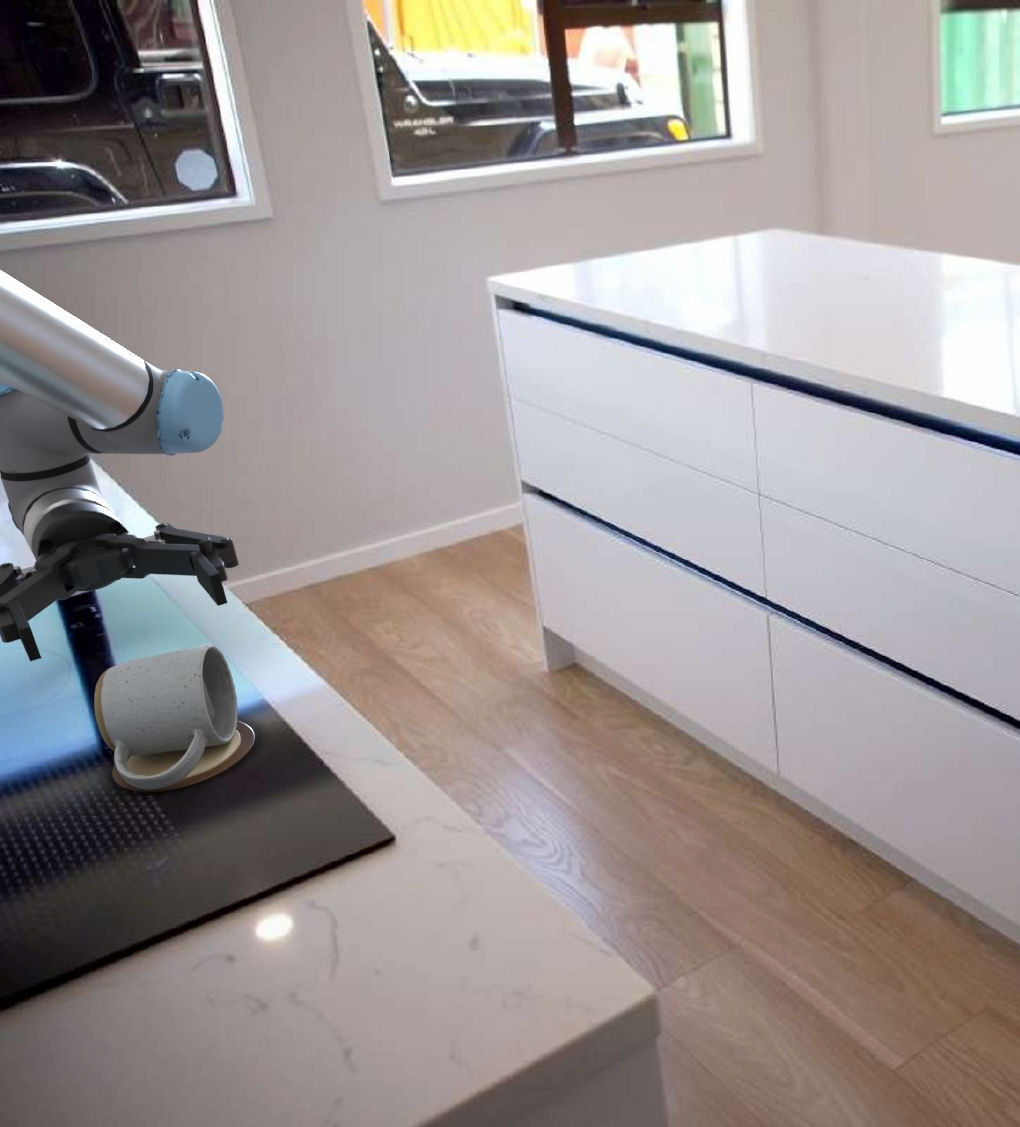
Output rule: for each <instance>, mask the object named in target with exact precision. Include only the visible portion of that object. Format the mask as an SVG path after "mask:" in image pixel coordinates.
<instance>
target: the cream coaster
mask: <svg viewBox="0 0 1020 1127" xmlns="http://www.w3.org/2000/svg"><path fill="white" fill-rule="evenodd" d="M255 740H256V735H255V732H254V730H253V729H252V727H251V726H249V725H248V724H247V723H244V722H242V721H240V720H239V721H238V720H237V727H236V731H235V733H234V736H233V738H232V739H231V741H229V742H228V743H226V744H222V745H217V746H210V747H205V749H204V752H203V754H202V756H201V758H200V760H199V762H198V764H197V766H196V767H195V768H194V769H193V770H192V771H191V773H190V774H189V775H187V776H186V777H185V778H183V779H182V780H181V781H179V782H177V783H175V784H173V785H171V786H168V787H165V788H160V789H153V790H146V789H139V788H136V787H133V786H131V785H130V784H128V783H127V782H126V781H125V780H124V779H123V777H122V776H121V775H120V773H119V772H118V770H117V767H116V764H115V763H114V765H113V768H112V773H111V774H112V778H113V781H114V782H115V784H117V785H118V786H119V787H121V788H123V789H125V790H128V791H133V792H141V793H158V792H166V791H173V790H177V789H182V788H185V787H189V786H192V785H195V784H196V785H197V784H199V783H201V782H204V781H207V780H209V779H211V778H214V777H216V776H218V775H220V774H222V773H224V772H226V771H227V770H229V769H231V768H232V767H234V766H235V765H236V764H238V763H240V762H241V761H242V760H243V759H244V758H245V757H246V756H247V755H248V754H249V753H250V751H251V750H252V749H253V746H254V745H255V742H256V741H255ZM186 751H187V750H179V751H170V752H164V753H158V754H152V755H145V756H128V759H127V769H128V772H132V773H133V774H135V775H144V776H152V775H153V776H154V775H157V774H160V773H163V772H164V771H166V770H168V769H170V768H171V767H172V766H173V765H175V764H176V763H177V762H178V761H179V760H180V759H181V758H182V757H183V756H184V755H185V753H186Z"/></svg>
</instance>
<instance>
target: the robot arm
mask: <svg viewBox="0 0 1020 1127" xmlns="http://www.w3.org/2000/svg"><path fill="white" fill-rule="evenodd" d="M221 395H222V394H221V393H220V391H219V388H218V387H217V385H216V384H215V383H214V382H213V380H212V379H211V378H210V377H208V376H207V375H206V374H203V373H202V372H198V371H190V370H189V371H187V370H182V369H178V368H174V369H171V370H164V369H160V368H157V367H156V366H154V365H152V364H151V363H149V362H148V361H146V360H144V359H143V358H141V357H139V356H137V355H136V354H134V353H132V352H131V351H129V350H127V349H126V348H124V347H123V346H121V345H120V344H118V343H116V342H115V341H114V340H111V338H109V337H107V336H106V335H104V334H102V333H100V332H99V331H98V330H96V329H94V328H93V327H91V326H90V325H88V324H87V323H85V322H83V321H82V320H80V319H79V318H77V317H76V316H74V315H72V314H70V313H69V312H68V311H66V310H64V309H63V308H62V307H59V306H58V305H56V304H55V303H53V302H52V301H50V300H49V299H47V298H45V297H43V296H42V295H40V294H39V293H37V292H36V291H34V290H33V289H31V288H30V287H28V286H26V285H25V284H23V283H22V282H20V281H18V280H17V279H15V278H14V277H12V276H11V275H9V274H7V273H6V272H4V271H2V270H1V269H0V480H1V483H2V486H3V489H4V491H5V495H6V497H7V500H8V502H7V507H8V510H9V513H10V515H11V520H12V522H13V524H14V526H15V527H16V529H17V530H19V532H20V533H21V534H22V536H23V537H24V539H25V541H26V544H27V545H28V547H29V549H30V551H31V553H32V555H33V557H34V559H35V562H34V565H33V566H29V567H25V568H21V566H19V565H17V566H16V565H15V566H14V564H13V563H12V562H5V563H4V562H3V563H1V564H0V638H1V641H2V643H4V644H8V643H13V642H15V641H19V640H20V641H21V643H22V646H23V649H24V651H25V653H26V655H27V657H28V659H29V662H34V661H37V660H40V659H42V656H41V653H40V650H39V647H38V644H37V642H36V639H35V637H34V636H35V635H34V633H33V631H32V627H31V625H30V623H29V621H31V619H33V618H35V617H36V616H37V615H39V614H40V613H42V612H43V611H44V610H45V609H47V608H48V607H49V606H51V605H52V604H53V603H55V602H56V601H67V600H68V599H69V598H70V597H72V596H73V595H75V594H76V593H78V592H91V591H97V590H101V589H103V588H106V587H109V586H110V585H112V584H113V583H115V582H116V581H119V580H121V579H138V580H142V579H145V578H147V577H148V576H150V575H162V576H163V575H164V576H165V575H166V576H189V577H191V576H192V577H196V579H197V583H198V584H199V585H200V586H201V587H202V589H204V591H205V592H206V593H207V595H208V596H209V597H210V598H211V600H212V601H213V602H214V603H215V604H216V606H218V607H219V606H222V605H226V604H228V600H227V596H226V592H225V589H224V585H223V582H226V581H228V579H229V577H228V573H227V569H233V568H236V567H238V566H239V564H240V563H239V559H238V555H237V552H236V547H235V545H234V541H233V538H232V537H229V536H223V535H219V534H218V535H217V534H212V533H206V532H200V531H194V530H188V529H183V528H177V527H175V526H173V524H171V523H169V522H162V523H159V524H157V525H156V526H155V530H154V531H153V535H150V536H146V537H140V536H139V535H136V534H131V533H130V532H129V530H128V529H127V527H126V526H125V525H124V523H123V522H122V521H121V519H120V518H119V517H118V515H117V514H116V513H115V511H113V509H112V508H111V507H110V506H109V504H108V502H106V500H105V499H104V497H103V495H102V492H101V489H100V486H99V483H98V480H97V477H96V473H95V470H94V467H93V464H92V460H91V456H90V455H91V454H92V455H93V454H98V455H99V454H100V455H101V454H110V455H112V454H113V455H166V456H170V457H171V456H173V457H174V456H175V455H177V454H195V453H202V452H205V451H206V450H208V449H210V448H211V447H213V446H214V445H215V444H216V442H217V441H218V439H219V438H220V436H221V433H222V430H223V421H224V419H225V408H224V402H223V399H222V398H223V397H222V396H221Z"/></svg>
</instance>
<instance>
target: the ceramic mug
mask: <svg viewBox="0 0 1020 1127" xmlns="http://www.w3.org/2000/svg"><path fill="white" fill-rule="evenodd" d="M93 696H94V697H93V698H94V699H93V700H94V703H93V707H94V716H95V720H96V724H97V727H98V730H99V733H100V736H101V738H102V739H103V741H104V743H105V744H106V745H107V747H108V748H110V750H111V751H113V752H114V753H113V757H114V759H113V760H114V761H113V762H114V765H115V764H116V767H117V770H118V772H119V773H120V775H121V776H122V777H123V779H124V780H125V781H126V782H127V783H128V784H130V785H131V786H133V787H136V788H139V789H146V790H153V789H160V788H165V787H168V786H171V785H173V784H175V783H177V782H179V781H181V780H182V779H183V778H185V777H186V776H187V775H189V774H190V773H191V771H192V770H193V769H194V768H195V767H196V766H197V764H198V762H199V760H200V758H201V756H202V754H203V752H204V749H205V747H210V746H217V745H222V744H226V743H228V742H229V741H231V739H232V738H233V736H234V733H235V731H236V727H237V721H238V696H237V692H236V685H235V682H234V678H233V676H232V672H231V670H230V666H229V663H228V662H227V660H226V657H225V656H224V654H223V653H222V651H221V650H220V649H219V648H218V647H217V646H215V645H214V644H210V643H206V644H201V645H196V646H193V647H187V648H184V649H179V650H175V651H170V652H166V653H162V654H156V655H152V656H147V657H142V658H141V657H140V658H136V659H132V660H128V661H125V662H122V663H119V664H116V665H114V666H111V667H109V668H107V669H106V670H105V671H103V672H102V674H101V675H100V676H99V678H98V679H97V682H96V685H95V691H94V695H93ZM179 750H187V751H186V753H185V755H184V756H183V757H182V758H181V759H180V760H179V761H178V762H177V763H176V764H175V765H173V766H172V767H171V768H170V769H168V770H166V771H164V772H163V773H160V774H157V775H154V776H153V775H152V776H144V775H135V774H133V773H132V772H128V769H127V759H128V756H145V755H152V754H158V753H164V752H170V751H179Z"/></svg>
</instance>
